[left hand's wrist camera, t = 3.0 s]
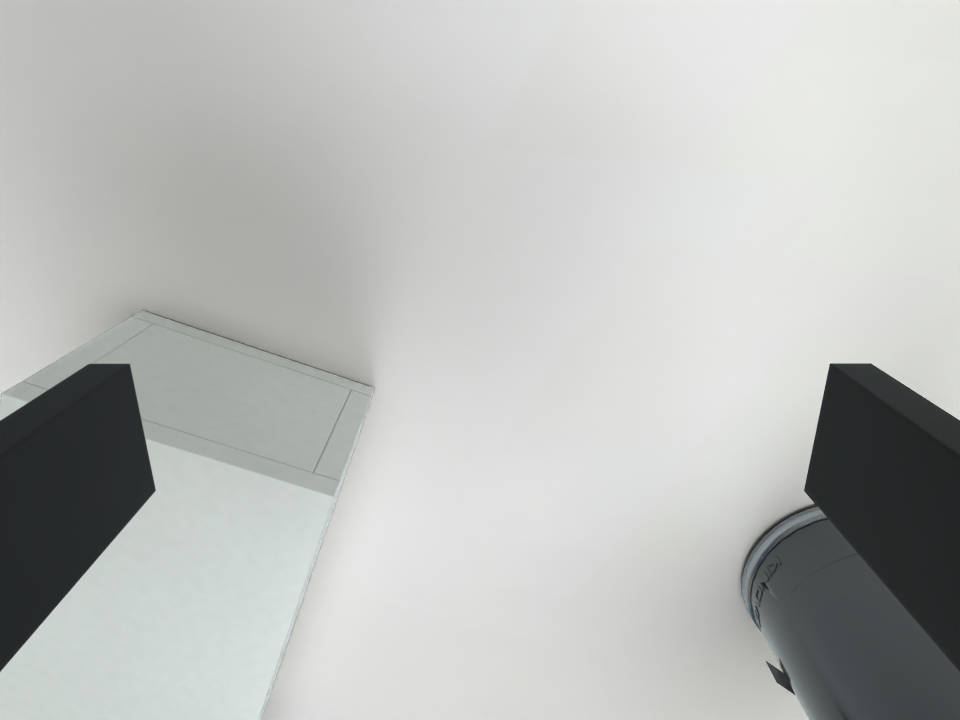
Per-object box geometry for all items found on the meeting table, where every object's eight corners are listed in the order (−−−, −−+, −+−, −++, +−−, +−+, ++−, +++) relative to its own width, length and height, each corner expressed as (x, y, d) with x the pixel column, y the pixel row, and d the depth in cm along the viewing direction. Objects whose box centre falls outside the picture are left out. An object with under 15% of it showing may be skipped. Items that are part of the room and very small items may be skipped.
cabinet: (269, 696, 39) (206, 871, 30) (76, 644, 38) (-50, 812, 29) (375, 387, 32) (334, 496, 23) (141, 309, 31) (0, 393, 22)
